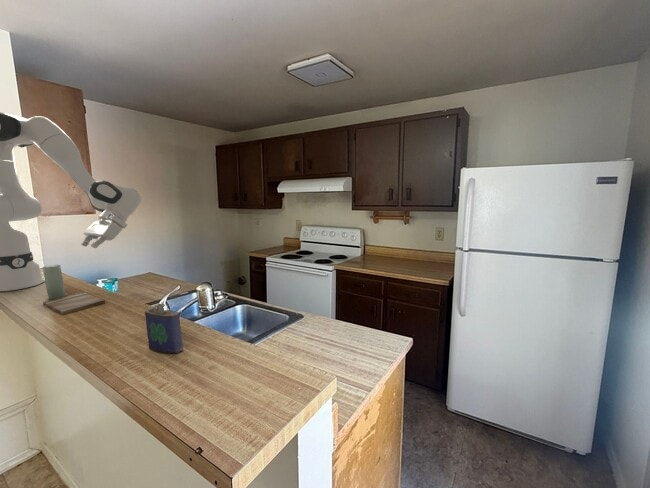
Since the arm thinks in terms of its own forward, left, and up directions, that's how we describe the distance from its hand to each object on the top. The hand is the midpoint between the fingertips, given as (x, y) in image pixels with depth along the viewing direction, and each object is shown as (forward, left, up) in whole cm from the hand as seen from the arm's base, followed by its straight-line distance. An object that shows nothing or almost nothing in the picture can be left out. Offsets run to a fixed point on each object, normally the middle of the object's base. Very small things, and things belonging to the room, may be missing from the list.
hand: (88, 246), depth 125 cm
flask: (+77, -14, -18) cm, 80 cm away
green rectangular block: (0, -12, -17) cm, 21 cm away
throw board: (+16, -12, -17) cm, 27 cm away
